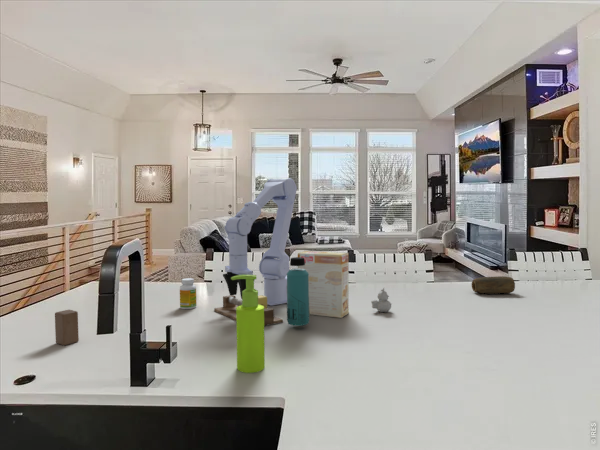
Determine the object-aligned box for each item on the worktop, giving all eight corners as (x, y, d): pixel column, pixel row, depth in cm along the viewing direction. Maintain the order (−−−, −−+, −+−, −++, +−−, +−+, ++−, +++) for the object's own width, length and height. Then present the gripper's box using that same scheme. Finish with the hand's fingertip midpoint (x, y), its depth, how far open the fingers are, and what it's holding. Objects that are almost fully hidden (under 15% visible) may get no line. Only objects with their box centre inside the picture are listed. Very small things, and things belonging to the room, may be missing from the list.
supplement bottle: (192, 309, 143) (191, 280, 143) (177, 309, 145) (176, 280, 144) (199, 306, 149) (198, 278, 148) (184, 305, 150) (184, 277, 149)
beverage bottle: (312, 325, 124) (312, 256, 123) (305, 332, 118) (305, 259, 117) (291, 323, 126) (290, 255, 125) (283, 330, 120) (282, 258, 119)
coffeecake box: (349, 313, 138) (349, 252, 137) (341, 318, 132) (341, 254, 131) (306, 308, 145) (306, 250, 144) (297, 313, 138) (296, 252, 137)
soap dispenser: (233, 363, 96) (231, 273, 95) (264, 362, 96) (263, 272, 95) (231, 373, 90) (229, 277, 89) (264, 372, 90) (263, 277, 89)
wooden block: (63, 346, 108) (62, 314, 107) (55, 343, 110) (53, 312, 109) (79, 341, 111) (78, 310, 111) (70, 339, 113) (69, 308, 113)
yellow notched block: (245, 316, 130) (244, 297, 130) (262, 313, 134) (261, 295, 133) (250, 318, 128) (249, 299, 127) (267, 315, 131) (267, 296, 131)
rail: (214, 310, 142) (214, 297, 142) (241, 306, 148) (240, 293, 148) (253, 328, 122) (253, 312, 122) (282, 322, 128) (282, 307, 128)
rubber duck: (394, 313, 138) (394, 288, 137) (374, 314, 137) (374, 289, 136) (388, 309, 143) (388, 285, 143) (368, 310, 142) (368, 285, 142)
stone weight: (506, 291, 170) (507, 274, 170) (516, 295, 163) (516, 277, 163) (469, 292, 170) (469, 275, 169) (477, 295, 163) (477, 278, 162)
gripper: (216, 253, 141) (217, 294, 142) (238, 258, 130) (238, 302, 131) (235, 251, 146) (236, 291, 146) (258, 256, 134) (258, 299, 135)
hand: (238, 296), depth 139 cm, fingers open, 7 cm apart
